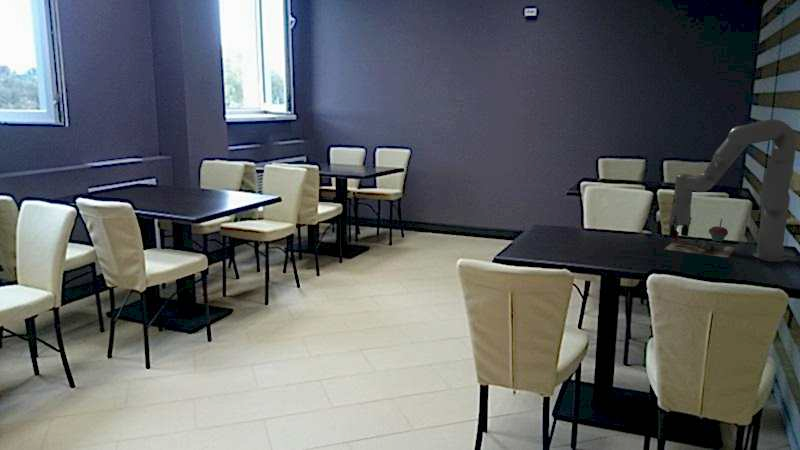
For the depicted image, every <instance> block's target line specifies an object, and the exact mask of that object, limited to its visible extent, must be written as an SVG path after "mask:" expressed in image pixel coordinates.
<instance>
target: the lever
mask: <svg viewBox="0 0 800 450" xmlns="http://www.w3.org/2000/svg"><path fill="white" fill-rule="evenodd" d="M679 235H680V232H679V231H677V238H676V239H675V238H671V243H673V244H680V245H688V246H696V247H701V245H702V244H704V242H699V243H696V242H695V241H685V240H680V239H679ZM706 243H707V244H709V245H710V246H711V249H710V250H713V249H716V250H724V249H725V245H718V244H713V243H712V244H711V243H710V242H706Z"/></svg>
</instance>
